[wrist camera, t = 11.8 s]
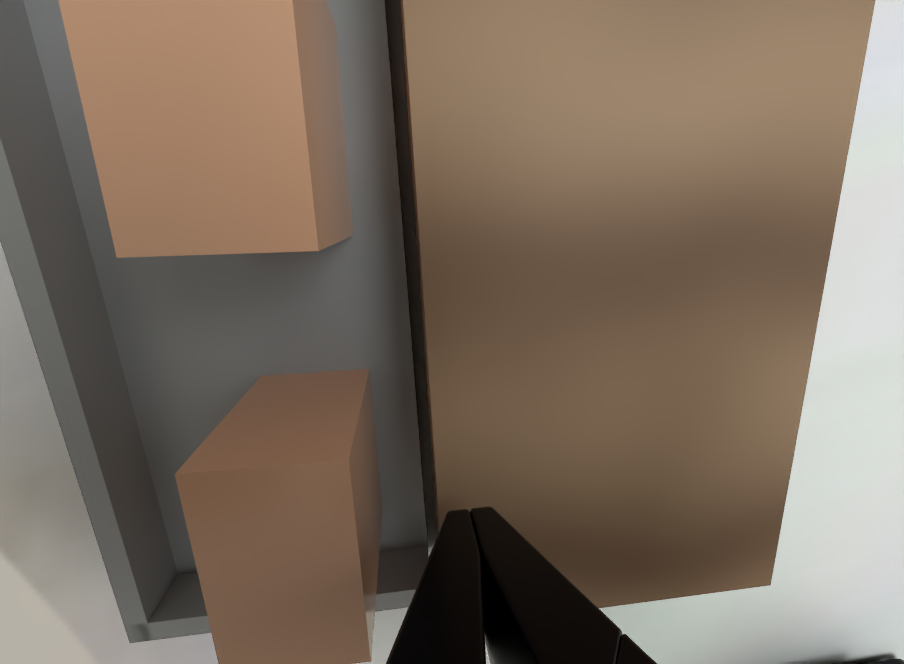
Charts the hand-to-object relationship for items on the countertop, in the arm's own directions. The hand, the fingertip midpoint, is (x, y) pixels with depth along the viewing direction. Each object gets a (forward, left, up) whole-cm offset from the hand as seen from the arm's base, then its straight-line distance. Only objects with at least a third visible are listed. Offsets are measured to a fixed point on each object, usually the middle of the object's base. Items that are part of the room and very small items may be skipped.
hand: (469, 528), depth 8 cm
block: (+7, +2, -1) cm, 8 cm away
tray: (+4, +4, -4) cm, 7 cm away
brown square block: (0, +2, -1) cm, 2 cm away
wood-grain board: (+4, -3, -4) cm, 6 cm away
